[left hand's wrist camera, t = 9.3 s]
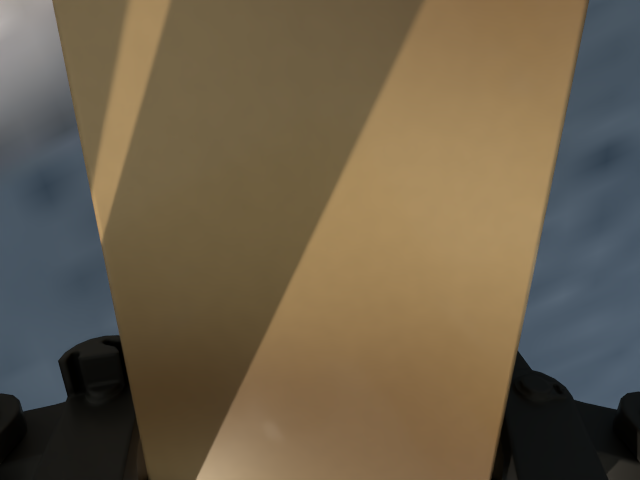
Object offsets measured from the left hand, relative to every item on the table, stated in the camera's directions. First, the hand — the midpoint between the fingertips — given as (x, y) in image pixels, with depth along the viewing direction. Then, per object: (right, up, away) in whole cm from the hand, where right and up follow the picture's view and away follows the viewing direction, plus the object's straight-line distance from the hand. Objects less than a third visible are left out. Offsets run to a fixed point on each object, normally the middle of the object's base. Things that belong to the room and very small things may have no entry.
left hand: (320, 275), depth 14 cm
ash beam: (0, +13, -5) cm, 14 cm away
